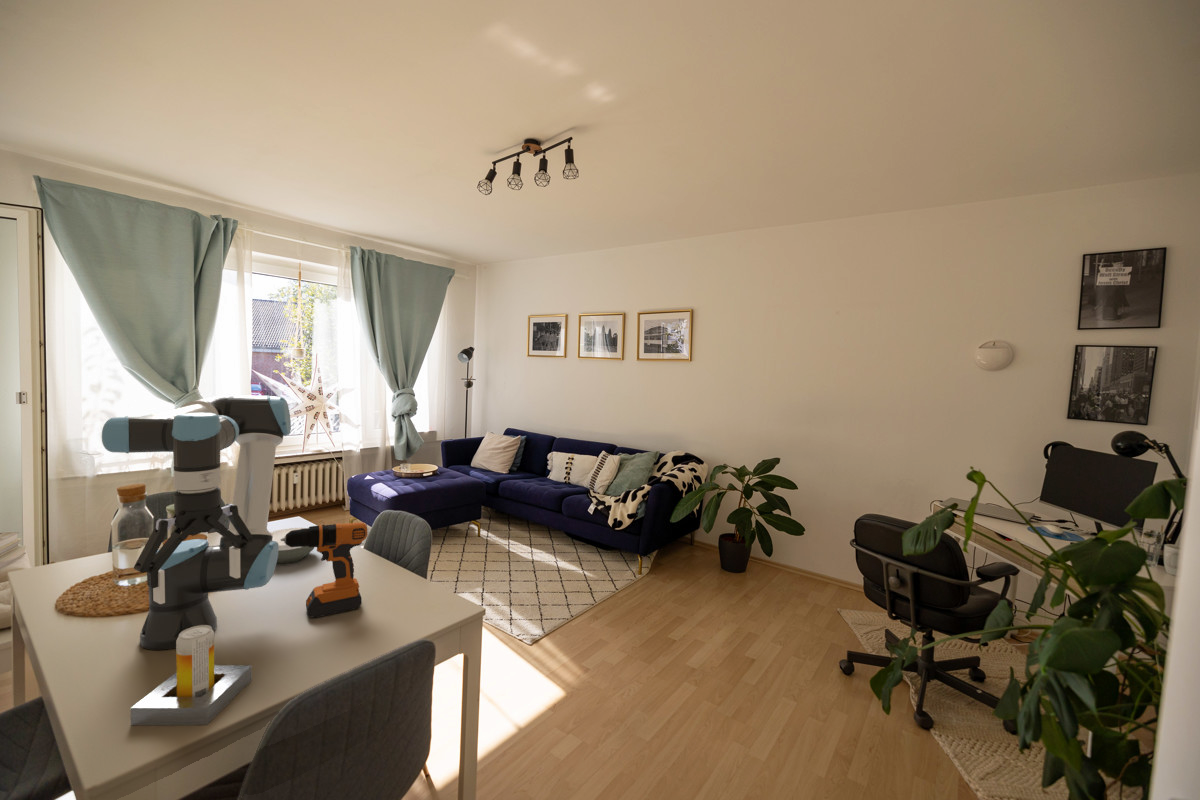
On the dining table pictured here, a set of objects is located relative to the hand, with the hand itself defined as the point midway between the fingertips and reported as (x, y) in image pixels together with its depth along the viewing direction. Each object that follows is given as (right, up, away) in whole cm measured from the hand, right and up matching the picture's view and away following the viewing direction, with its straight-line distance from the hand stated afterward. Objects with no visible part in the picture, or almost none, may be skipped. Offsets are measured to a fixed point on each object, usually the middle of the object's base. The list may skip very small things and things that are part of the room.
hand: (199, 588), depth 105 cm
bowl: (-28, -18, +75) cm, 82 cm away
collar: (-1, -23, 0) cm, 23 cm away
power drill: (+5, -21, +39) cm, 45 cm away
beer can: (-1, -24, 0) cm, 24 cm away
